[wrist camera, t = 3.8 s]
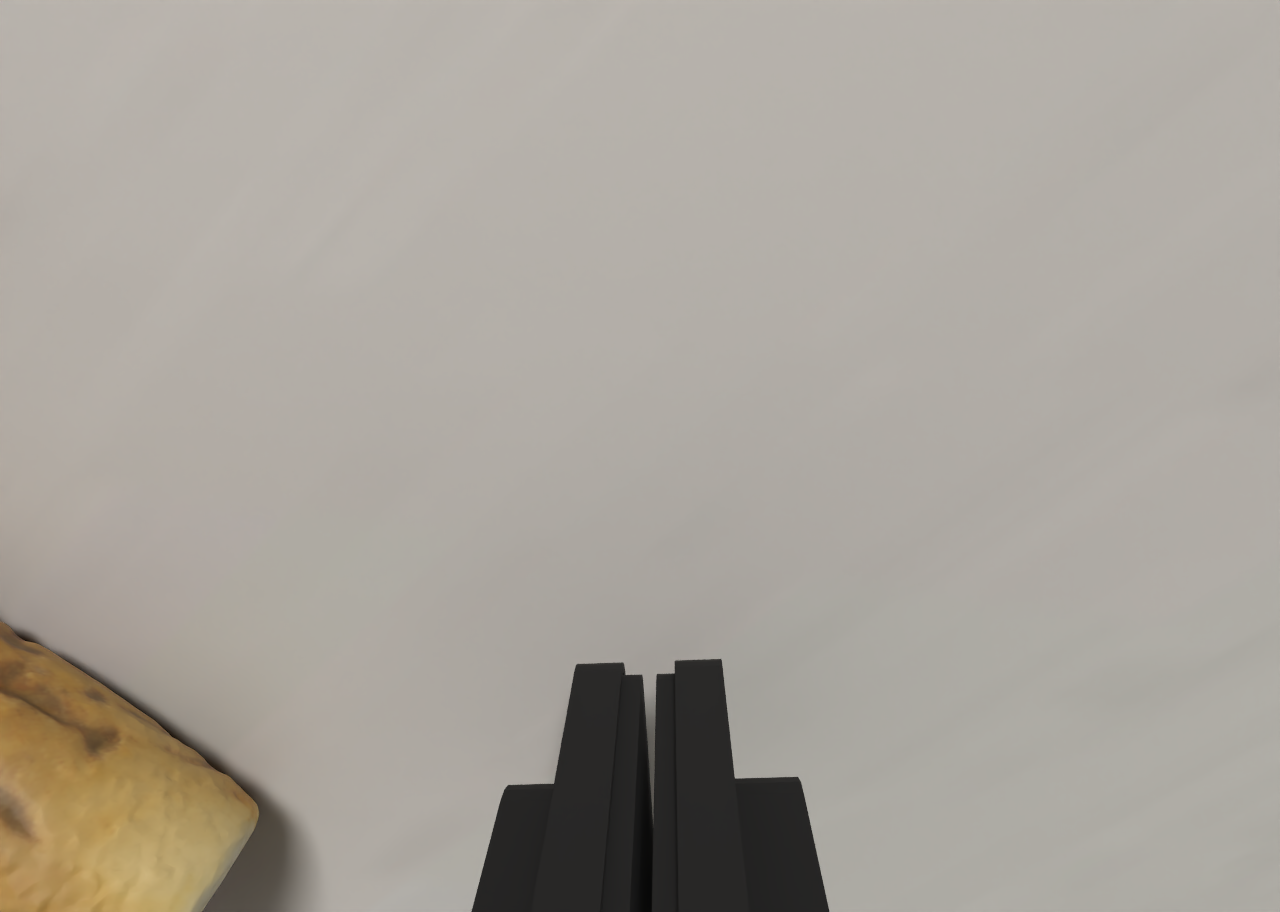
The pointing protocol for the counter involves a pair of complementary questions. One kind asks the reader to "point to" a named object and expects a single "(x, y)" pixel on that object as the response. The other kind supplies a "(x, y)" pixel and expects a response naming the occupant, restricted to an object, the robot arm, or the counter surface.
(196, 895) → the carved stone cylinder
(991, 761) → the counter surface
